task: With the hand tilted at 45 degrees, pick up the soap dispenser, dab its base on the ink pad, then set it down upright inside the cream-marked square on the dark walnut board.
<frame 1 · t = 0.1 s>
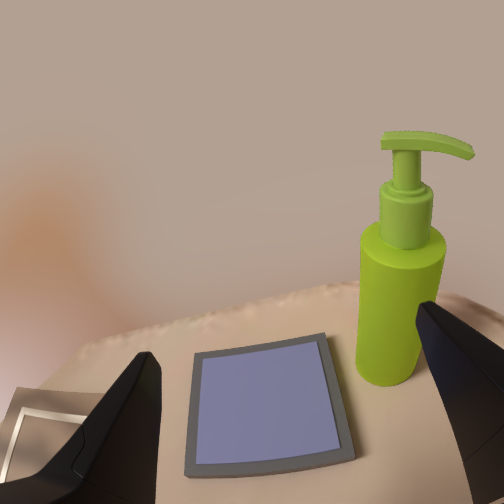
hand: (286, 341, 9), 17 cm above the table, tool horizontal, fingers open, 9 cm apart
target board: (49, 470, 19), on the table
ink pad: (264, 406, 24), on the table
soap dispenser: (390, 362, 25), on the table
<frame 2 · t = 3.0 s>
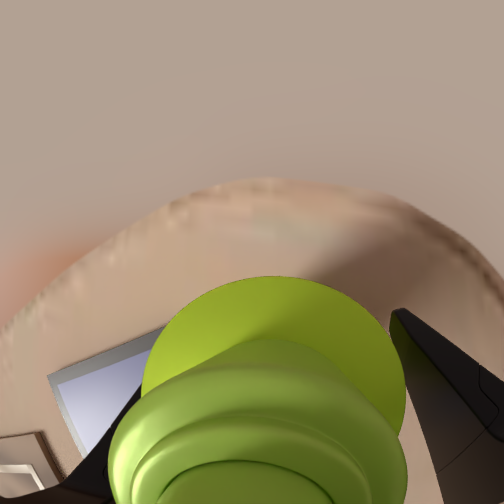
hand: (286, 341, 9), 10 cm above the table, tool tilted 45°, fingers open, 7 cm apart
ink pad: (145, 433, 18), on the table
soap dispenser: (291, 349, 19), on the table, touching gripper
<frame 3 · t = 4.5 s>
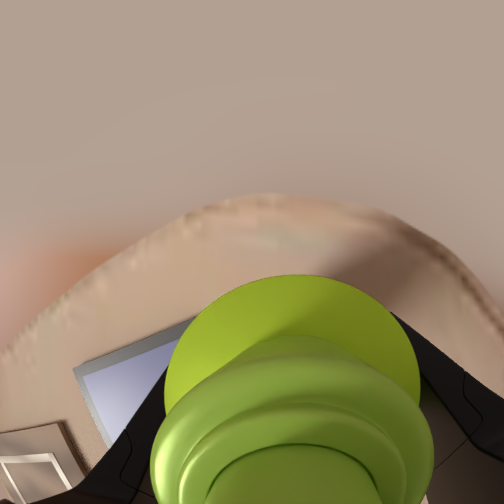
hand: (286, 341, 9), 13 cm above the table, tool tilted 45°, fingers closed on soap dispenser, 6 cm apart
target board: (53, 502, 20), on the table
ink pad: (163, 417, 22), on the table
soap dispenser: (300, 348, 19), point 3 cm above the table, touching gripper
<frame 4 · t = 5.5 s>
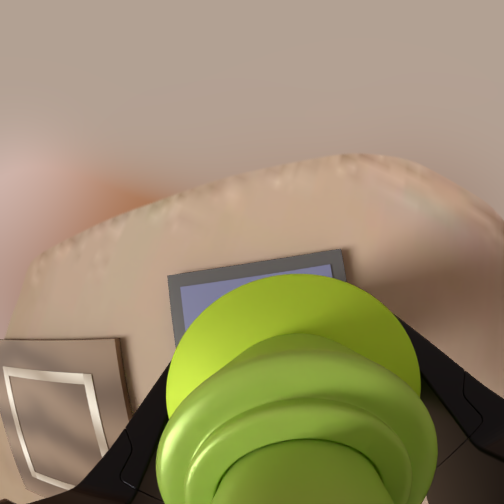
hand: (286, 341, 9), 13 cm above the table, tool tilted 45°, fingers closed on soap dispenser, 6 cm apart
target board: (59, 433, 22), on the table
ink pad: (265, 351, 22), on the table
soap dispenser: (299, 347, 19), point 3 cm above the table, touching gripper
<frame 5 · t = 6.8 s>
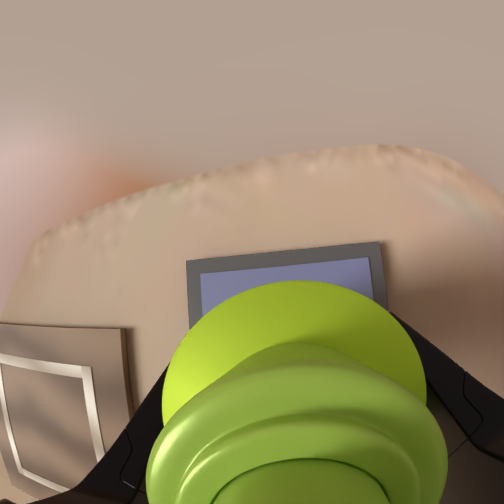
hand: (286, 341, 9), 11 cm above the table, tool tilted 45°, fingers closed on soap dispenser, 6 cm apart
target board: (50, 429, 20), on the table
ink pad: (291, 350, 19), on the table
soap dispenser: (300, 356, 18), point 1 cm above the table, touching gripper, ink pad
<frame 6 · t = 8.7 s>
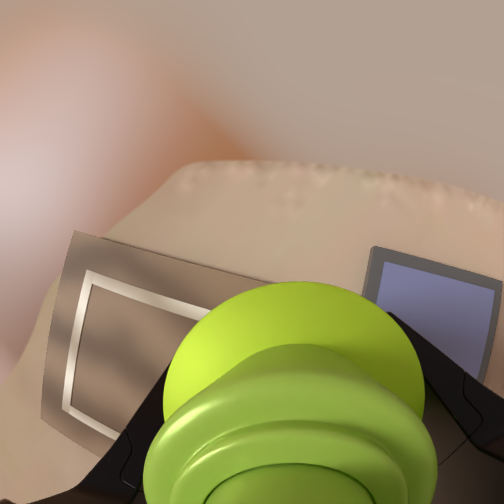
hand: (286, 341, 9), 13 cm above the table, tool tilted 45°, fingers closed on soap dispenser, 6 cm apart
target board: (138, 372, 23), on the table
ink pad: (426, 346, 21), on the table
soap dispenser: (303, 353, 18), point 3 cm above the table, touching gripper
when the fingers open (11 cm above the table, at t = 10.7 s): soap dispenser stays where it is, resting on target board.
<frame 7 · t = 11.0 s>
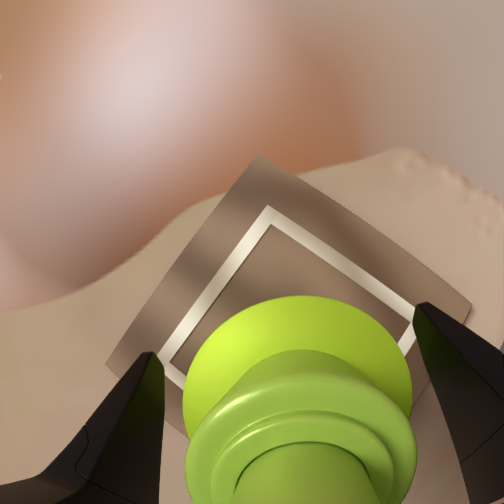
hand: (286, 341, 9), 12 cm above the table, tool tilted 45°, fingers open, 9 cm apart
target board: (290, 346, 20), on the table
soap dispenser: (302, 355, 19), point 1 cm above the table, touching target board
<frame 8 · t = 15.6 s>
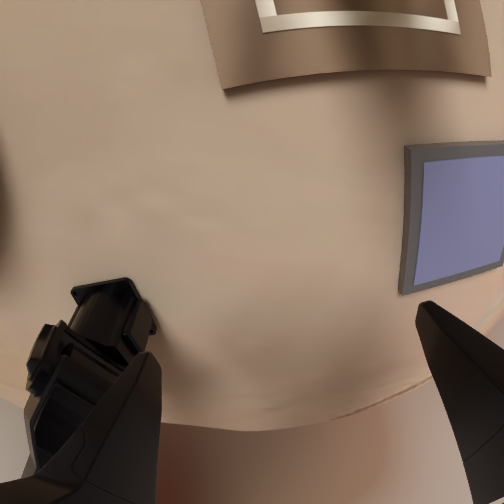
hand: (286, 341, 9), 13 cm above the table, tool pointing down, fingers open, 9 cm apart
ink pad: (464, 214, 22), on the table
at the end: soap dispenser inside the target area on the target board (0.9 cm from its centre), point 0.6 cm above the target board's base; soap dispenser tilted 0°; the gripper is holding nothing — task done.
